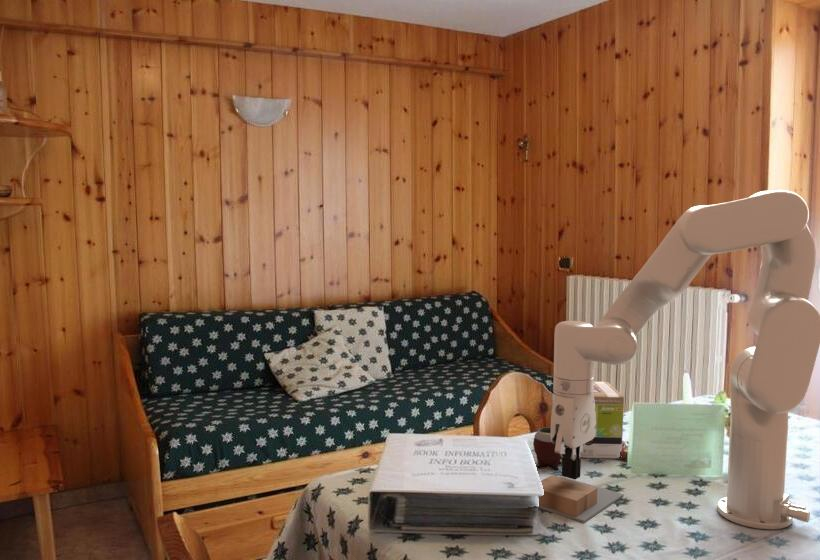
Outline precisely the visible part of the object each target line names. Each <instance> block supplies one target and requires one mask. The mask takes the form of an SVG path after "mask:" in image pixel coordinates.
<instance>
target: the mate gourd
mask: <svg viewBox="0 0 820 560" xmlns="http://www.w3.org/2000/svg"><path fill="white" fill-rule="evenodd" d="M554 394H555V393H551V406H550V411H551V415H552V405H553V399H554ZM532 445H533V450H534V453H535V455H536V460H537V465H536V468H537V469H538V470H540V469H544V468H550V469H552V470H554V471H555V472H557V471H560V467H559V466H560V465H561V466H562V457H561V454H559V453H555V445H556V444H553V443H552V441H551V427H541V428H538V430H537V431H536V433H535V434H534V436H533V442H532Z"/></svg>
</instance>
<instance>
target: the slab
mask: <svg viewBox="0 0 820 560" xmlns="http://www.w3.org/2000/svg"><path fill="white" fill-rule="evenodd" d="M540 481H541V482H542V485H543V489H544V495H543V496H541V497H539V504H540V505H543V506H546V507H549V508H552V509H555V510H558V511H561V512H564V513H567V514H570V515H573V516H578V515H579V514H581V513H583V512H584V511H586V510H587V509H589V508H590V507H592V506H593V505H595V504H596V503H597V488H596V487H597V486H596V487H592V486H589V485H590V484H589V485H585V484H582V483H578V482H575V481H571V480H568V479H564V478H561V476H557V475H553V474H551V475H549V476H548V477H545V478H543V479H541V480H540Z"/></svg>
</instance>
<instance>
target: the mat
mask: <svg viewBox="0 0 820 560" xmlns="http://www.w3.org/2000/svg"><path fill="white" fill-rule="evenodd" d="M560 477H561V478H564V479H568V480H571V481H575V482H578V483H582V484H585V485H589V486H592V487H596V488H597V503H596V504H595V505H593V506H592V507H590V508H589V509H587V510H586V511H584V512H583V513H581V514H579V515H578V516H573V515H570V514H567V513H564V512H561V511H558V510H555V509H552V508H549V507H546V506H543V505H540V504H539V507H540V508H539V509H541V510H543V511H547V512H550V513H553V514H556V515H559V516H561V517H562V516H563V517H565V518H568V519H571V520H574V521H577V522H581V523H584V524H585V523H586V522H588V521H590V520H591V519H592V518H594V517H595V516H596V515H598V514H599V513H601V512H603V511H604V510H605V509H607V508H608V507H610V506H612V505H613V504H615V503H616V502H617V501H619V500H620V499H622V498H623V497H624V496H625V495H624V493H620V492H617V491H613V490H610V489H607V488H603V487H600V486H596V485H593V484H589V483H586V482H581V481H579V480H577V479H576V480H574V479H571V478H567V477H564V476H562V475H561V476H560Z"/></svg>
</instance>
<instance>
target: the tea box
mask: <svg viewBox="0 0 820 560" xmlns="http://www.w3.org/2000/svg"><path fill="white" fill-rule="evenodd" d="M593 393H594V400H595V414H596V435H595V437H594V438H593V439H592V440H590V441H589V442H587V443H585V444H584V446H583V451H582V456H581V457H580V458H581V459H620V458H619V457H620V452H621V451H623V434H624V433H623V429H624V409H625V407H624V406H625V397H624V395H622V394H621V392H619V391H618V390H617V389H616V388H615V387H614V386H613V385H612V384H610V383H609V382H608V381H593Z"/></svg>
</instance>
